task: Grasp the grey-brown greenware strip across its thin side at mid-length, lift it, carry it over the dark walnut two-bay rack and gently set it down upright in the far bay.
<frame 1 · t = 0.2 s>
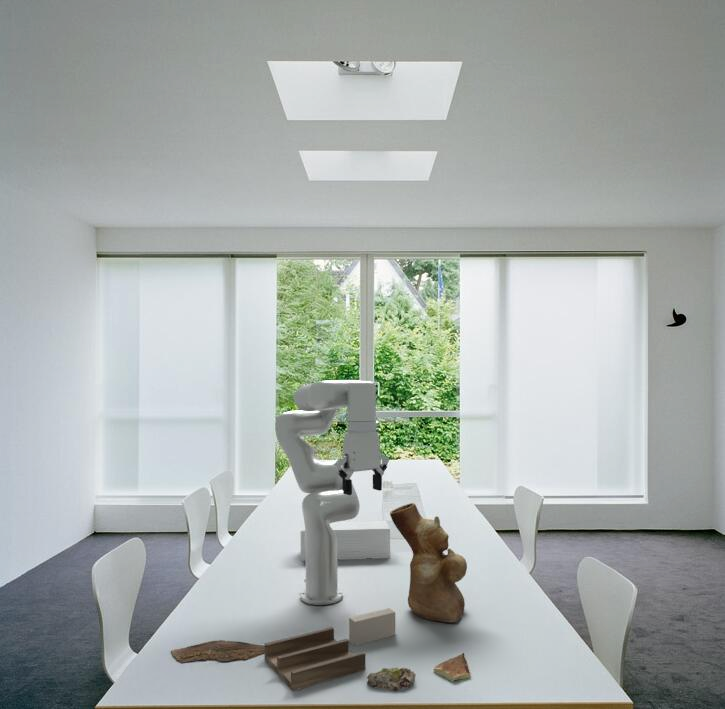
hand: (362, 492, 167), 36 cm above the table, tool pointing down, fingers open, 9 cm apart
white long block: (344, 555, 229), on the table
walnut rack: (314, 664, 146), on the table
shard: (450, 672, 144), on the table
greenware strip: (372, 638, 160), on the table
ceramic vessel: (428, 612, 176), on the table
mineral rock: (391, 684, 138), on the table
wooden fragment: (224, 653, 153), on the table
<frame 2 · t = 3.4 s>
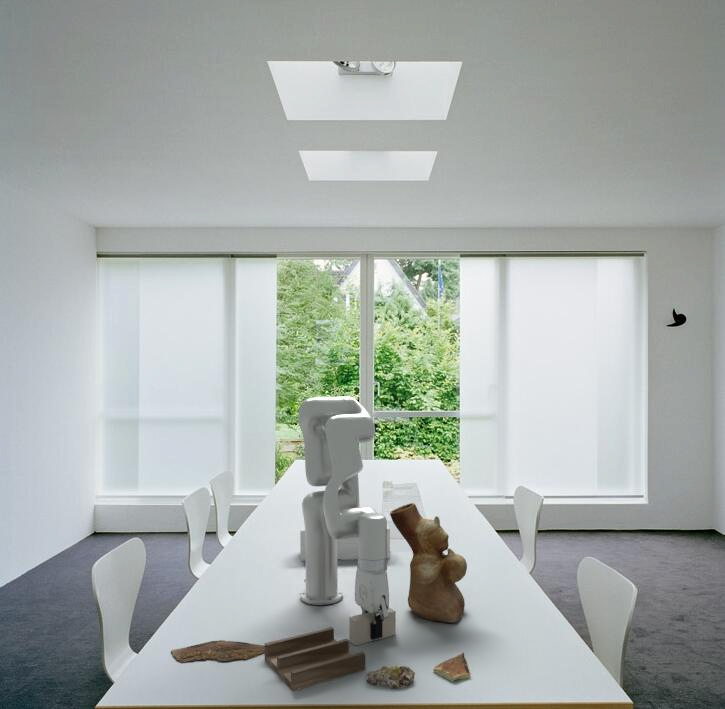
hand: (372, 634, 160), 1 cm above the table, tool pointing down, fingers closed on greenware strip, 3 cm apart
greenware strip: (372, 637, 160), on the table, touching gripper
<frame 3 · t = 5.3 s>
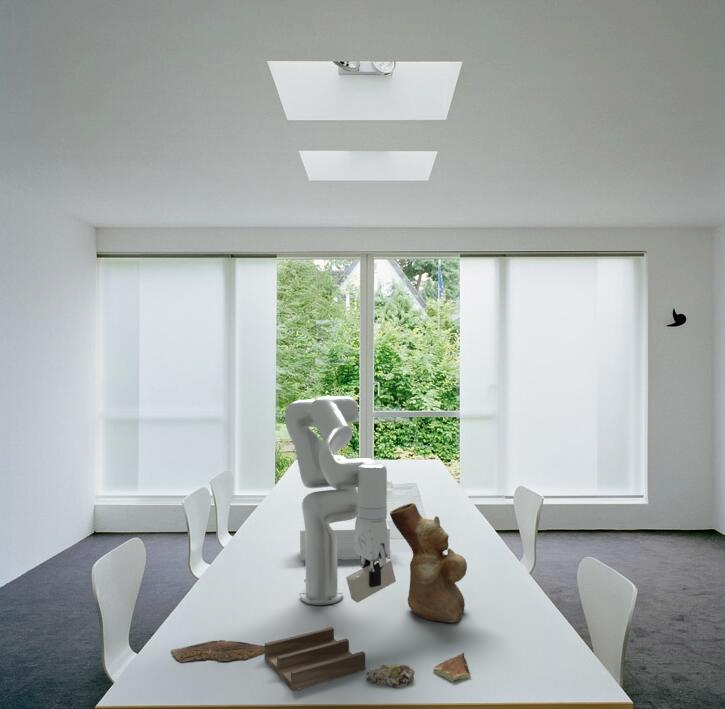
hand: (371, 583, 161), 14 cm above the table, tool pointing down, fingers closed on greenware strip, 2 cm apart
greenware strip: (373, 589, 161), point 12 cm above the table, tilted 16°, touching gripper
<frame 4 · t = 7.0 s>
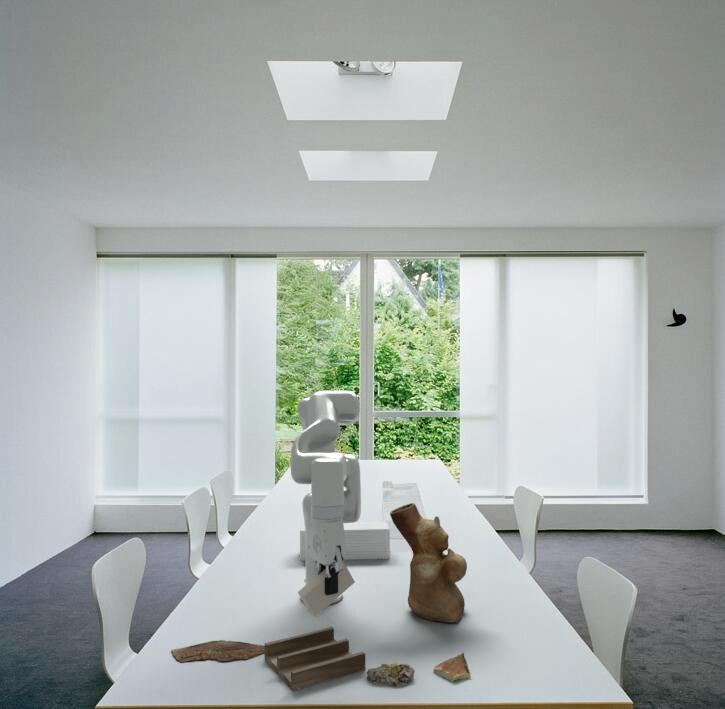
hand: (327, 590, 145), 18 cm above the table, tool pointing down, fingers closed on greenware strip, 2 cm apart
greenware strip: (332, 597, 146), point 16 cm above the table, tilted 30°, touching gripper
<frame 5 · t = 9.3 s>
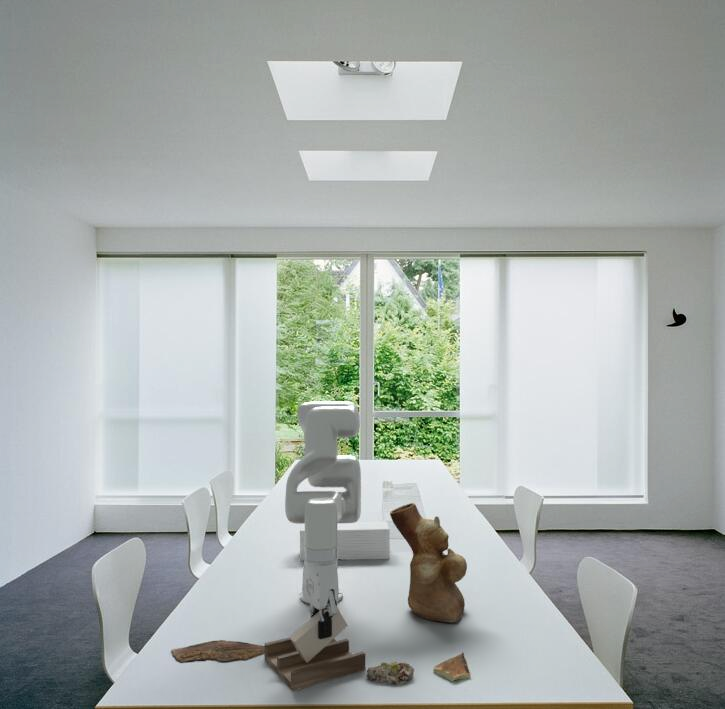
hand: (321, 633, 143), 9 cm above the table, tool pointing down, fingers closed on greenware strip, 3 cm apart
greenware strip: (324, 641, 143), point 7 cm above the table, tilted 30°, touching gripper
when the fingers open (4 cm above the table, at t = 10.8 s): greenware strip drops 2 cm, resting on walnut rack.
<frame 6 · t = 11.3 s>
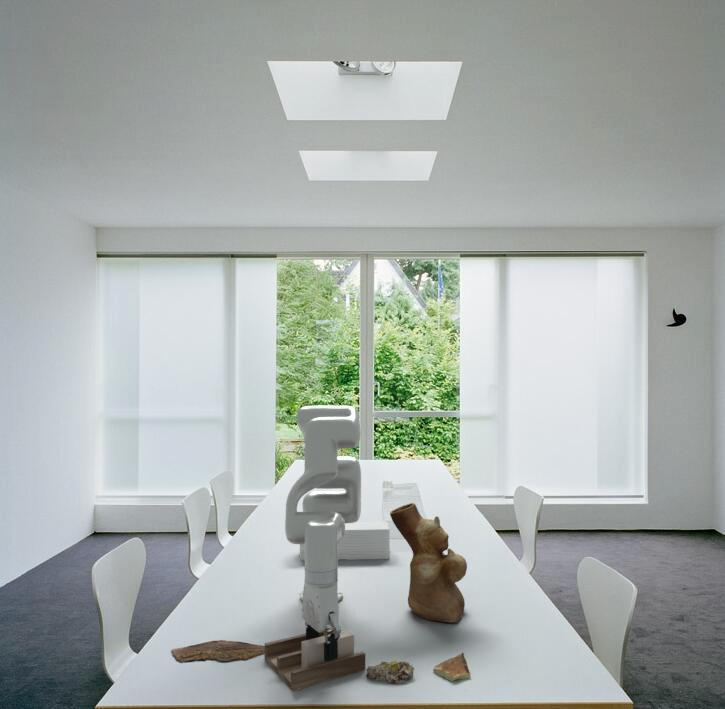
hand: (321, 651, 143), 5 cm above the table, tool pointing down, fingers open, 8 cm apart
greenware strip: (328, 664, 144), point 1 cm above the table, touching walnut rack
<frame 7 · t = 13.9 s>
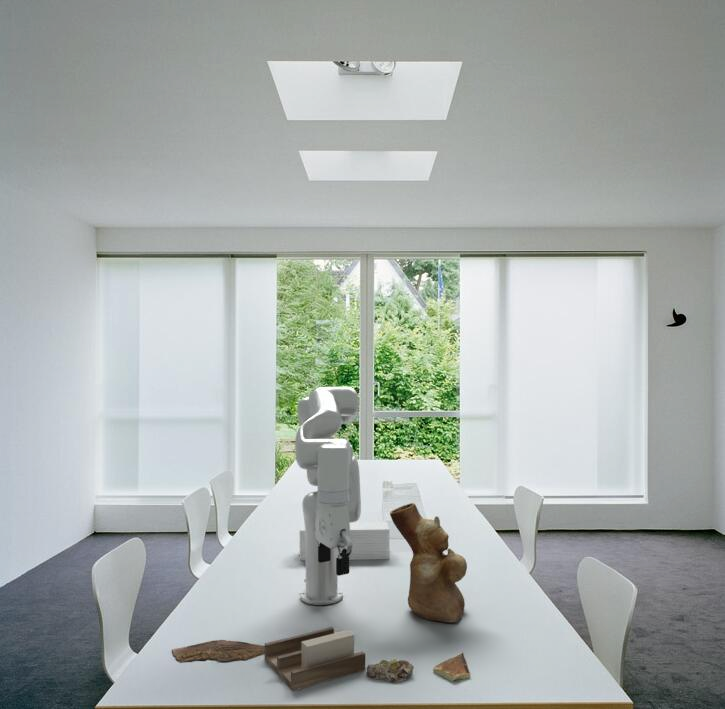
hand: (333, 567, 150), 21 cm above the table, tool pointing down, fingers open, 9 cm apart
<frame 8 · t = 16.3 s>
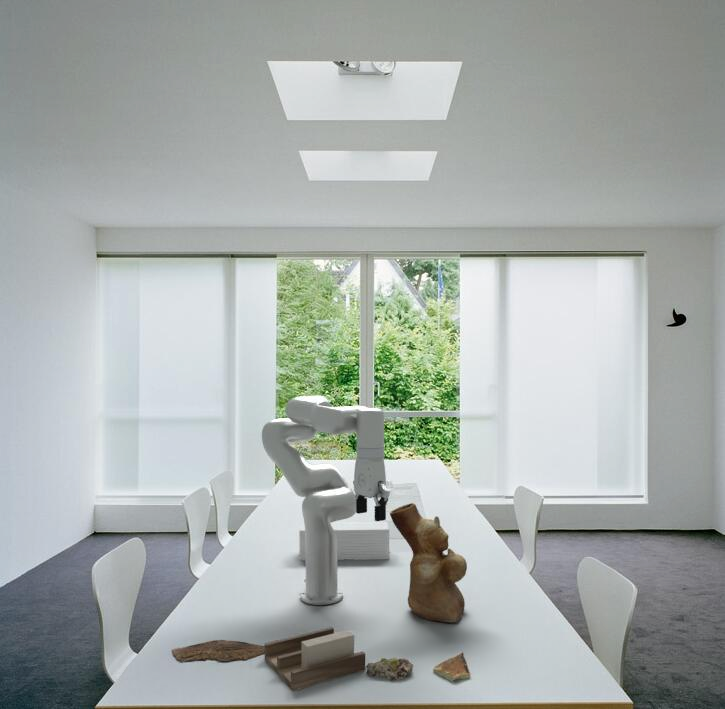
hand: (370, 516, 171), 28 cm above the table, tool pointing down, fingers open, 9 cm apart
at the end: greenware strip inside the target area on the walnut rack (1.6 cm from its centre), point 1.2 cm above the walnut rack's base; greenware strip tilted 0°; the gripper is holding nothing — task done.
